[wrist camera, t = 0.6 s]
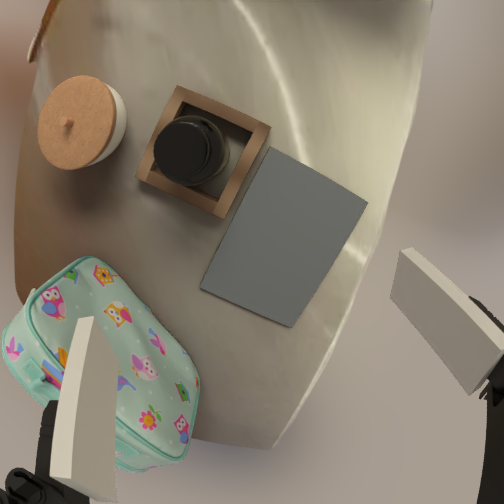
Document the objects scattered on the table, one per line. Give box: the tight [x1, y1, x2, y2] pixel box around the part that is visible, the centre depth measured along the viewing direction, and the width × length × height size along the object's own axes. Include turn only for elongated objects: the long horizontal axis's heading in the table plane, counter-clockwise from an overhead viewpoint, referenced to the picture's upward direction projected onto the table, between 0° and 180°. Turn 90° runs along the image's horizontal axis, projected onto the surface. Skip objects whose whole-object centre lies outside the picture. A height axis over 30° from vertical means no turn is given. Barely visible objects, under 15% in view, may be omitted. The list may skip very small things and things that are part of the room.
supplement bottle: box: [153, 115, 230, 186], centre depth 28 cm, size 7×7×12 cm
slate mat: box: [200, 147, 368, 328], centre depth 38 cm, size 20×14×1 cm
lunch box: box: [1, 256, 200, 473], centre depth 32 cm, size 27×10×21 cm, turn 35°
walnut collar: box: [135, 85, 271, 220], centre depth 33 cm, size 12×12×2 cm
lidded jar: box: [38, 76, 127, 170], centre depth 28 cm, size 11×11×9 cm
